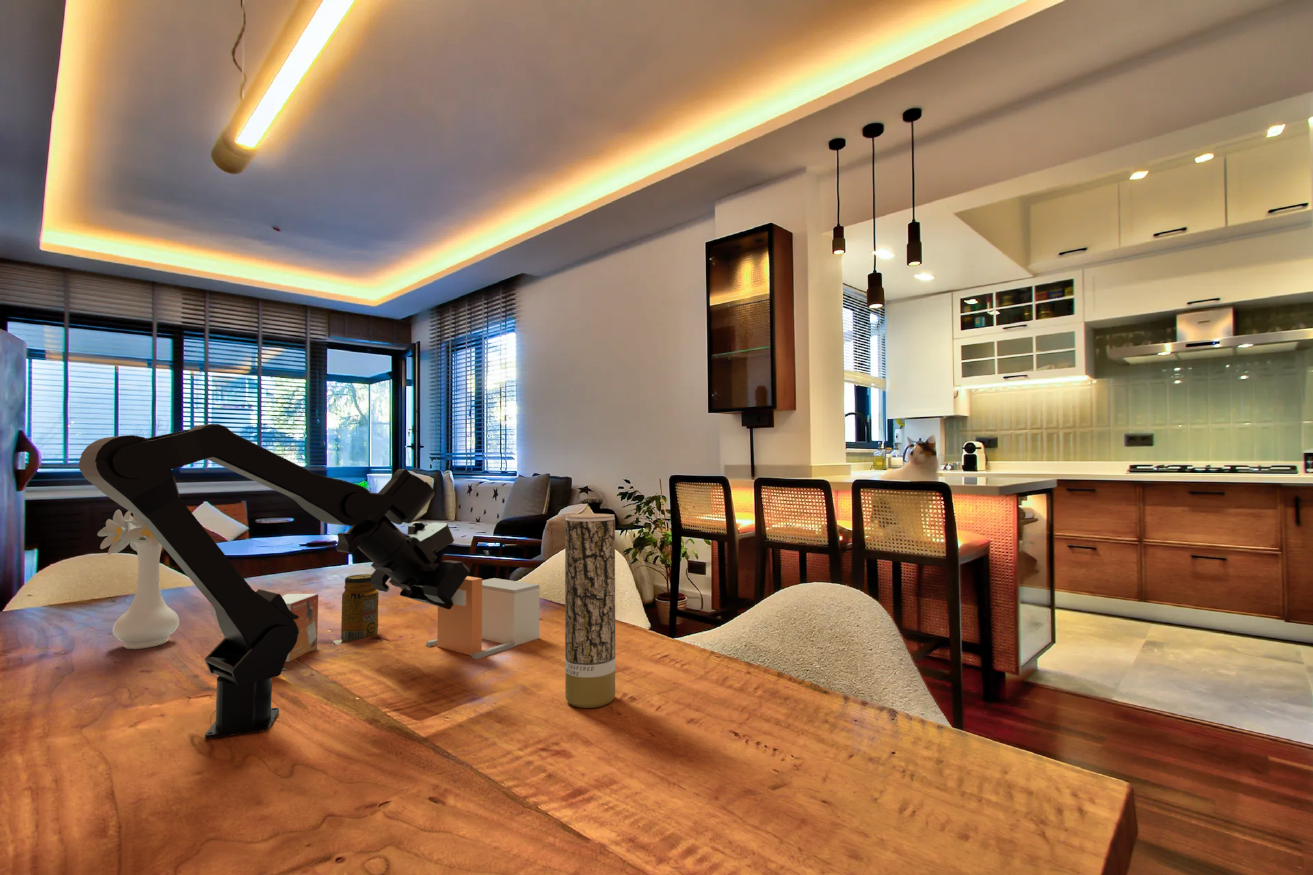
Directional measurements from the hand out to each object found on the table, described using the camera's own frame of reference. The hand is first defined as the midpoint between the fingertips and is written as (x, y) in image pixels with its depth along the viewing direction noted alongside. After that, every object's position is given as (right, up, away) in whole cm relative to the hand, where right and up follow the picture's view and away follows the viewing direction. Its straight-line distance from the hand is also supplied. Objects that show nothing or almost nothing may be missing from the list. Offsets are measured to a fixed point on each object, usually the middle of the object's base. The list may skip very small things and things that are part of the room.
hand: (450, 606), depth 100 cm
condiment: (-20, -10, +10) cm, 25 cm away
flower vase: (-60, -10, +10) cm, 61 cm away
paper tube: (+25, -8, -17) cm, 31 cm away
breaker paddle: (+1, -7, +1) cm, 8 cm away
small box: (-26, -9, -1) cm, 28 cm away
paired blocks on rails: (+3, -9, +3) cm, 10 cm away
